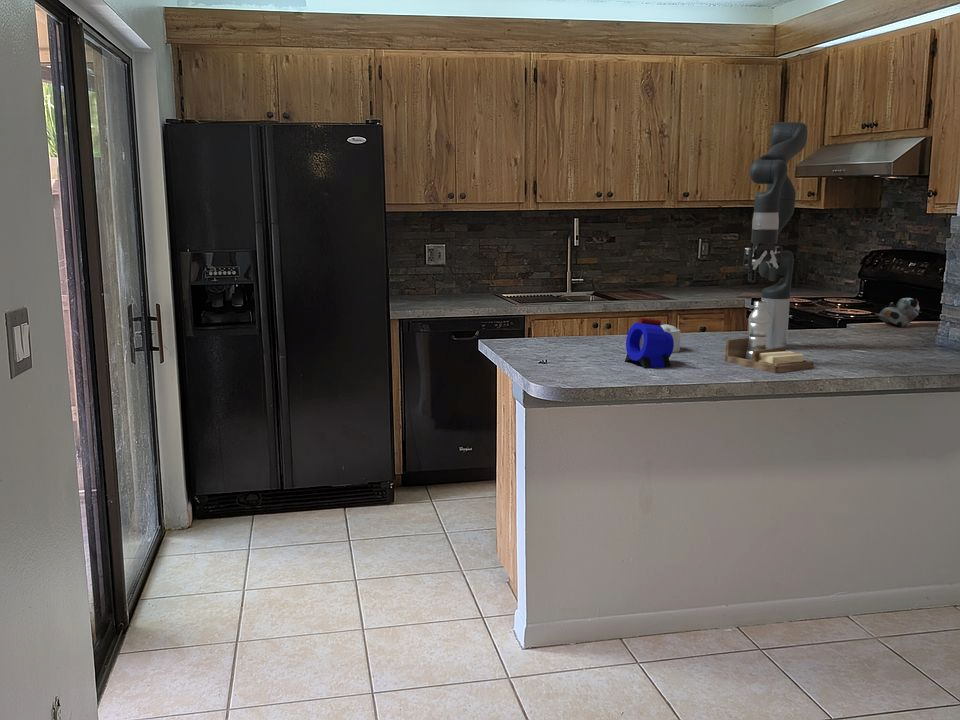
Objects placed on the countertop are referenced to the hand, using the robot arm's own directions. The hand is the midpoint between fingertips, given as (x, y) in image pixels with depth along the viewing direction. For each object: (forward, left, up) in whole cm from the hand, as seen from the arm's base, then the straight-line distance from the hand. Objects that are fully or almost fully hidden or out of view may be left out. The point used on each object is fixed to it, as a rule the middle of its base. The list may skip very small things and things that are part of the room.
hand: (761, 281), depth 268 cm
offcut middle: (+9, 0, -25) cm, 27 cm away
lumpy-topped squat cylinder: (-35, -9, -26) cm, 45 cm away
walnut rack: (+5, 0, -26) cm, 27 cm away
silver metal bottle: (0, 0, -26) cm, 26 cm away
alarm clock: (-18, -27, -26) cm, 42 cm away
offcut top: (+9, 0, -23) cm, 25 cm away
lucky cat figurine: (-31, +111, -26) cm, 119 cm away
